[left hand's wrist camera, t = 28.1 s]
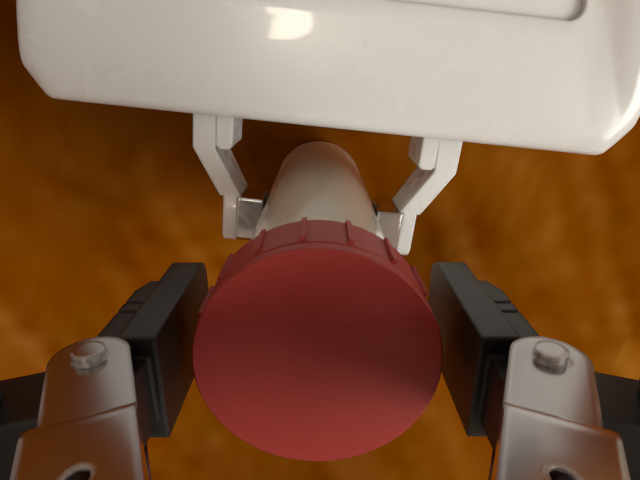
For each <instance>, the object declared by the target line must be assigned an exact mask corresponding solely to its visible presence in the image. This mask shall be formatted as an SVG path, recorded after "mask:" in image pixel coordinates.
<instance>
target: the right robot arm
mask: <svg viewBox="0 0 640 480" xmlns="http://www.w3.org/2000/svg"><path fill="white" fill-rule="evenodd" d="M16 14H17V32H18V44H19V52H20V57H21V61H22V63H23V65H24V67H25V68H26V69H27V71H28V72H29V73H30V75H31V76H32V77H33V78H34V80H35V81H36V82H37V84H38V85H39V86H40V87H41V88H42V90H43V91H44V92H45V93H46V94H47V95H48V96H50V97H51V98H54V99H60V100H69V101H79V102H88V103H98V104H108V105H117V106H127V107H136V108H146V109H156V110H165V111H175V112H185V113H193V148H194V150H195V152H196V154H197V155H198V157H199V159H200V161H201V162H202V164H203V166H204V168H205V169H206V171H207V173H208V175H209V177H210V178H211V180H212V182H213V184H214V185H215V187H216V189H217V191H218V192H219V194H220V195H222V196H223V237H224V238H229V239H244V240H251V237H252V235H253V232H254V230H255V227H256V225H257V223H258V220H259V218H260V215H261V213H262V210H263V208H264V206H265V203H266V201H267V197H268V189H267V188H259V187H251V186H248V184H247V182H246V180H245V178H244V176H243V174H242V172H241V169H240V167H239V165H238V163H237V161H236V159H235V157H234V155H233V153H232V151H231V148H232V147H233V146H234V145H235V144H236V143H237V142H239V141H240V140H241V139H242V124H243V119H252V120H261V121H271V122H281V123H290V124H300V125H309V126H319V127H329V128H338V129H348V130H357V131H367V132H377V133H386V134H396V135H405V136H411V139H410V146H409V152H408V156H409V158H410V159H411V160H412V161H413V162H414V163H415V164H416V165H417V166H418V167H417V168H416V169H415V170H414V172H413V173H412V174H411V176H410V177H409V178H408V180H407V181H406V182H405V183H404V185H403V186H402V187H401V189H400V190H399V191H398V193H397V194H396V195H395V196H394V198H393V200H380V199H373V201H372V206H373V209H374V211H375V214H376V216H377V219H378V221H379V224H380V226H381V229H382V231H383V234H384V236H385V237H386V238H388V239H389V240H390V243H391V245H392V247H393V248H395V249H396V250H397V251H398V252H399V253H400V254H401V255H408V253H409V251H410V247H411V242H412V236H413V231H414V226H415V220H416V215H420V214H421V213H422V212H423V211H424V209H425V208H426V207H427V206H428V205H429V204H430V203H431V202H432V200H433V199H434V198H435V197H436V196H437V195H438V194H439V192H440V191H441V190H442V189H443V188H444V187H445V186H446V184H447V183H448V182H449V181H450V180H451V179H452V178H453V176H454V175H455V174H456V170H457V166H458V161H459V156H460V152H461V147H462V143H463V142H473V143H482V144H492V145H502V146H511V147H521V148H530V149H540V150H550V151H559V152H569V153H579V154H589V155H599V154H602V153H604V152H605V151H606V150H608V149H609V148H610V147H612V146H613V145H614V144H615V143H616V142H617V141H619V140H620V139H621V138H622V137H623V136H624V135H625V134H626V133H628V132H629V131H630V130H631V129H632V128H633V126H634V125H635V124H636V122H637V120H638V118H639V116H640V0H16Z"/></svg>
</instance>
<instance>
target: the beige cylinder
mask: <svg viewBox="0 0 640 480" xmlns="http://www.w3.org/2000/svg"><path fill="white" fill-rule="evenodd" d="M303 217H307V220H332V221H338V222H343V223H345V222H346V220H349V221H351V225H354V226H357V227H360V228H363V229H365V230H367V231H369V232H371V233H373V234H376V235H377V236H379V237H380V238H382V239H384V238H385V236H384V234H383V231H382V229H381V226H380V224H379V221H378V219H377V216H376V214H375V211H374V209H373V206H372V203H371V201H370V198H369V196H368V193H367V191H366V188H365V186H364V183H363V181H362V178H361V176H360V173H359V171H358V168H357V166H356V164H355V162H354V160H353V159H352V157H351V156H350V155H349V154H348V153H347V152H346V151H345V150H344V149H342V148H341V147H339V146H337V145H335V144H332V143H329V142H324V141H313V142H308V143H305V144H302V145H300V146H298V147H297V148H295V149H294V150H292V151H291V152H290V153H289V154H288V155H287V157H286V158H285V159H284V161H283V162H282V165H281V167H280V169H279V171H278V174H277V176H276V179H275V181H274V184H273V186H272V189H271V191H270V193H269V196H268V198H267V201H266V203H265V206H264V208H263V210H262V213H261V215H260V218H259V220H258V223H257V225H256V227H255V230H254V232H253V235H252V237H251V240H252V239H254V238H255V237H257V236H258V235H259V233H260V231H261V230H262V229H265V230H266V231H268V230H270V229H272V228H275V227H278V226H281V225H284V224H287V223H292V222H297V221H302V218H303Z"/></svg>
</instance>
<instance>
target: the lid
mask: <svg viewBox="0 0 640 480" xmlns="http://www.w3.org/2000/svg"><path fill="white" fill-rule="evenodd" d="M427 294H428V292H427V290H426V288H425V286H424V284H423V282H422V280H421V278H420V276H419V274H418V272H417V270H416V268H415V266H412V267H410V266H409V264H408V263H407V261H406V260H405V259H404V258H403V257H402V255H401V254H400V253H399V252H398V251H397V250H396V249H395V248H393V247H392V245H391V243H390V240H389V239H388V238H386V237H385V238H384V239H382V238H380V237H379V236H377V235H376V234H373V233H371V232H369V231H367V230H365V229H363V228H360V227H357V226H354V225H351V221H349V220H346V222H345V223H343V222H338V221H332V220H307V217H303V218H302V221H297V222H292V223H287V224H284V225H281V226H278V227H275V228H272V229H270V230H268V231H266V230H265V229H262V230H261V231H260V233H259V235H258V236H257V237H255V238H254V239H252V240H250V241H249V242H248V243H247V244H245V245H244V246H243V247H242V248H241V249H239V250H238V251H237V252H236V254H235V255H233V254H232V253H231V254H230V255H229V256H228V258H227V260H226V262H225V264H224V266H223V268H222V270H221V272H220V274H219V276H218V278H217V283H216V285H215V287H214V286H211V288H210V290H209V292H208V294H207V296H206V298H205V300H204V302H203V304H202V306H201V308H200V310H199V312H198V314H197V317H199V320H198V322H197V326H196V329H195V333H194V337H193V345H192V365H193V370H194V376H195V380H196V382H197V385H198V388H199V391H200V393H201V395H202V397H203V399H204V401H205V403H206V404H207V406H208V407H209V409H210V410H211V411H212V413H213V414H214V415H215V417H216V418H217V419H218V420H219V421H220V422H221V423H222V424H223V425H224V426H225V427H226V428H227V429H229V430H230V431H231V432H232V433H233V434H234V435H236V436H237V437H239V438H241V439H242V440H244V441H245V442H247V443H249V444H251V445H253V446H254V447H256V448H258V449H261V450H263V451H266V452H269V453H271V454H274V455H278V456H282V457H286V458H291V459H297V460H306V461H330V460H338V459H345V458H349V457H353V456H357V455H361V454H364V453H366V452H369V451H372V450H375V449H377V448H379V447H381V446H383V445H385V444H387V443H388V442H390V441H391V440H393V439H395V438H396V437H398V436H399V435H400V434H402V433H403V432H404V431H405V430H407V429H408V428H409V427H410V426H411V425H412V424H413V423H414V422H415V421H416V420H417V419H418V418H419V417H420V416H421V414H422V413H423V411H424V410H425V409H426V407H427V406H428V404H429V402H430V401H431V399H432V397H433V395H434V393H435V391H436V388H437V385H438V382H439V379H440V375H441V370H442V363H443V347H442V338H441V334H440V333H441V328H440V326H439V324H438V322H437V320H436V317H435V315H434V313H433V311H432V309H431V307H430V305H429V303H428V301H427V299H426V297H425V296H426V295H427Z"/></svg>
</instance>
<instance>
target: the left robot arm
mask: <svg viewBox="0 0 640 480" xmlns="http://www.w3.org/2000/svg"><path fill="white" fill-rule="evenodd" d="M207 294H208V283H207V273H206V268H205V265H204V263H173V264H172V265H171V266H170V267H169V269H168V270H167V271H166V273H165V274H164V275H163V277H162V278H161V279H160V280H159V281H151V282H150V283H148V284H146V285H144V286H143V287H141V288H139V289H138V290H136V291H135V292H134V293H133V294H132V295H131V297H130V298H129V299H128V300H127V301H126V304H124V305H123V306H122V307H121V309H120V310H119V313H116V315H115V316H114V317H113V318H112V319H111V321H110V322H109V323H108V324H107V325H106V327H105V328H104V329H103V330H102V331H101V333H100V334H99V335H98V336H97V337H94V338H89V339H85V340H81V341H78V342H76V343H73V344H71V345H69V346H67V347H65V348H63V349H62V350H60V351H58V352H57V353H56V354H55V355H54V356H53V357H52V358H51V359H50V360H49V362H48V364H47V367H46V372H42V373H38V374H33V375H28V376H23V377H17V378H12V379H7V380H1V381H0V480H152V475H151V468H150V461H149V455H148V449H147V441H148V439H149V437H170V434H171V432H172V429H173V427H174V424H175V422H176V420H177V417H178V415H179V412H180V410H181V407H182V405H183V402H184V400H185V398H186V395H187V393H188V390H189V388H190V385H191V383H192V381H193V378H194V370H193V365H192V345H193V337H194V333H195V329H196V326H197V322H198V320H199V317H197V314H198V312H199V310H200V308H201V306H202V304H203V302H204V300H205V298H206V296H207ZM428 303H429V305H430V307H431V309H432V311H433V313H434V315H435V317H436V320H437V322H438V324H439V326H440V328H441V333H440V334H441V338H442V347H443V363H442V370H441V372H442V374H443V377H444V379H445V382H446V384H447V387H448V389H449V392H450V394H451V396H452V399H453V401H454V404H455V406H456V409H457V411H458V414H459V416H460V419H461V421H462V424H463V426H464V429H465V431H466V434H467V436H487V437H488V439H489V442H490V444H491V446H492V448H493V449H492V455H491V461H490V468H489V475H488V480H640V379H639V380H634V379H629V378H624V377H618V376H613V375H608V374H602V373H598V372H594V367H593V364H592V362H591V360H590V359H589V358H588V357H587V356H586V355H585V354H584V353H583V352H582V351H580V350H578V349H577V348H575V347H573V346H571V345H569V344H567V343H564V342H562V341H559V340H555V339H551V338H546V337H540V336H539V335H538V334H537V332H536V331H535V330H534V329H533V328H532V326H531V325H530V324H529V323H528V321H527V320H526V319H525V318H524V317H523V315H522V314H521V313H518V309H517V308H516V307H515V306H514V304H513V303H511V301H510V300H509V298H508V297H507V296H506V295H505V294H504V292H503V291H502V290H501V289H499V288H497V287H495V286H494V285H492V284H490V283H489V282H487V281H478V280H477V278H476V277H475V276H474V274H473V273H472V272H471V270H470V269H469V268H468V266H467V265H466V264H465V263H464V262H435V263H434V264H433V266H432V270H431V279H430V289H429V300H428Z"/></svg>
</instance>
